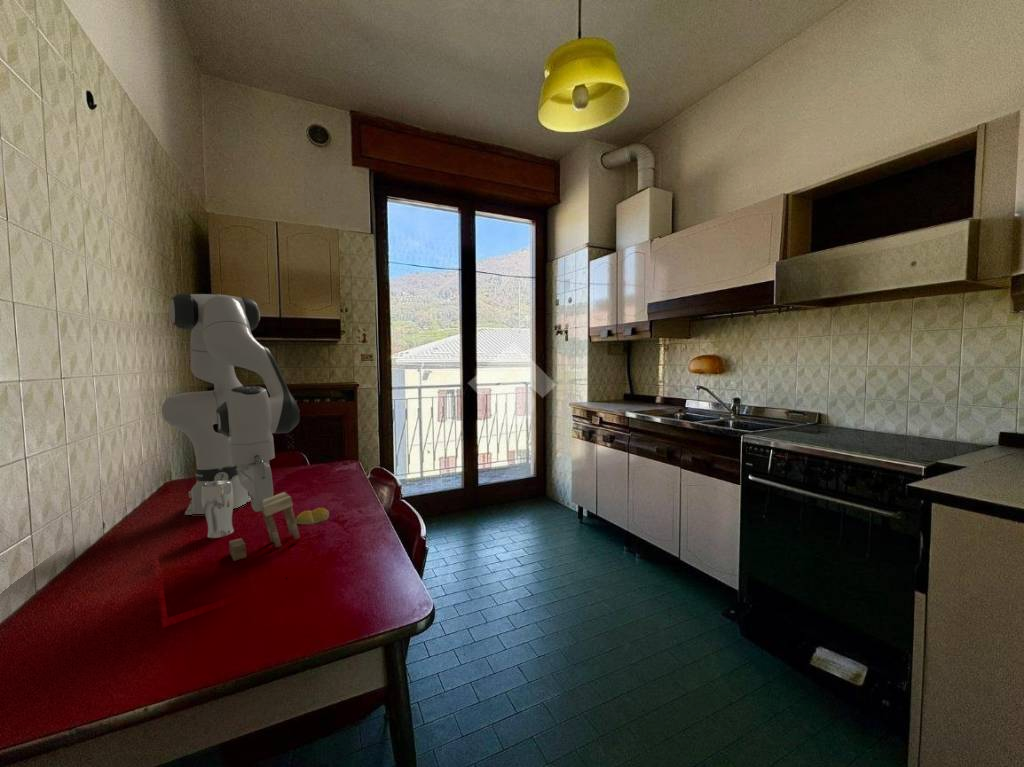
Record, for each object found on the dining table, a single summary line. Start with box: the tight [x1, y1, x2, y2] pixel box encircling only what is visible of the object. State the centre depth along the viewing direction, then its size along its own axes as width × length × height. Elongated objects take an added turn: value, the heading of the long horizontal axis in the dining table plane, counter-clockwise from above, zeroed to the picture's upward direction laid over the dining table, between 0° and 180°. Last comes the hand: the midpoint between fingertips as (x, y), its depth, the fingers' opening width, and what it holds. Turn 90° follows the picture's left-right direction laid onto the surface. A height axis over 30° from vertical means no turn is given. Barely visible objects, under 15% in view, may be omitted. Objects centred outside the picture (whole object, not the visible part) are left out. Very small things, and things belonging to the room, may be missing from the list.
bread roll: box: [295, 507, 330, 525], centre depth 120 cm, size 8×9×4 cm
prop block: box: [228, 537, 247, 561], centre depth 98 cm, size 5×2×3 cm, turn 43°
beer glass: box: [202, 479, 235, 539], centre depth 112 cm, size 7×7×15 cm
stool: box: [261, 491, 301, 549], centre depth 104 cm, size 6×6×11 cm
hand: (257, 509), depth 100 cm, fingers closed, pressing on stool
